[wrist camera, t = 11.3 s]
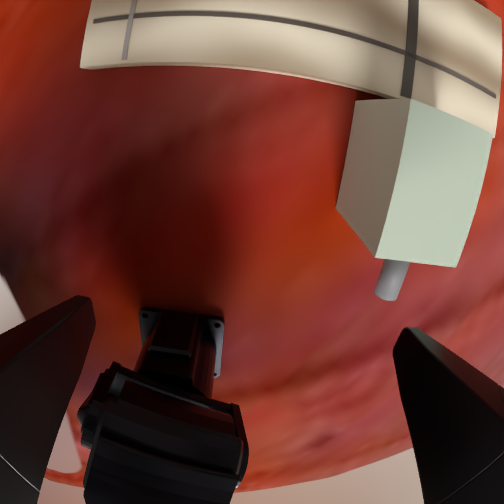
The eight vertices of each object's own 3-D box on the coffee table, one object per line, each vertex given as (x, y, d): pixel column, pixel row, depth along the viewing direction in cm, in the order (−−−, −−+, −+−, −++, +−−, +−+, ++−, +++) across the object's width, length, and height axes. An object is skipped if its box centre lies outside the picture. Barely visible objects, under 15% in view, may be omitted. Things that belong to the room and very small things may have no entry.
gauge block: (389, 258, 21) (435, 315, 14) (325, 250, 20) (356, 313, 14) (423, 121, 16) (492, 134, 10) (355, 100, 16) (410, 98, 10)
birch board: (481, 135, 16) (495, 138, 15) (91, 69, 15) (78, 67, 13) (489, 21, 12) (502, 18, 11) (119, -55, 10) (110, -64, 9)
